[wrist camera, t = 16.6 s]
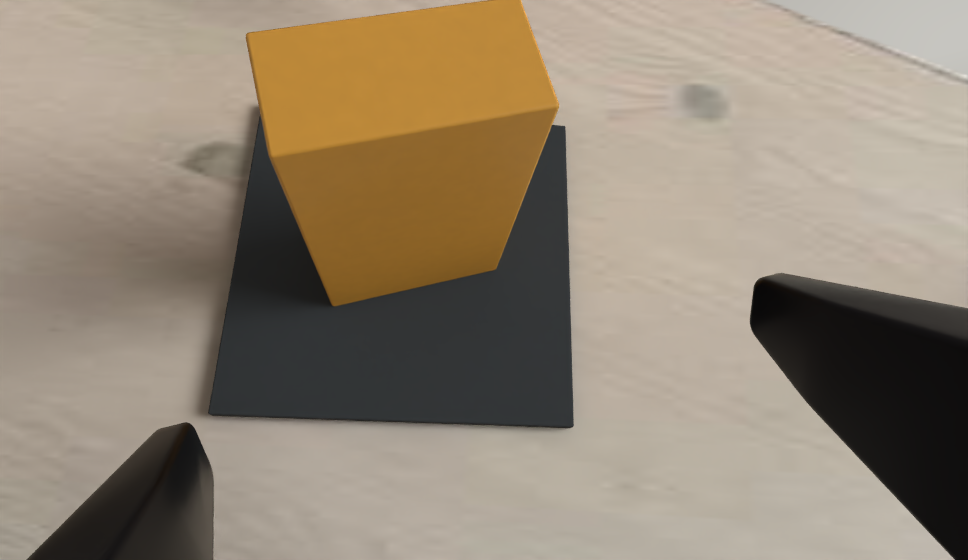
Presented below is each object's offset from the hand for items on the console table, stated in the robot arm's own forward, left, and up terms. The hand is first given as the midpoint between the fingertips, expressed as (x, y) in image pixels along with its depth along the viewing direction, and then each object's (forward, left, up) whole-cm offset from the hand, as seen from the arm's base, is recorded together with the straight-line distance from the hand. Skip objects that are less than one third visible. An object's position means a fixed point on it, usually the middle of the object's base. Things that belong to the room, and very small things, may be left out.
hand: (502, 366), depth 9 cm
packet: (-2, +6, -11) cm, 13 cm away
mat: (-2, +6, -12) cm, 13 cm away
